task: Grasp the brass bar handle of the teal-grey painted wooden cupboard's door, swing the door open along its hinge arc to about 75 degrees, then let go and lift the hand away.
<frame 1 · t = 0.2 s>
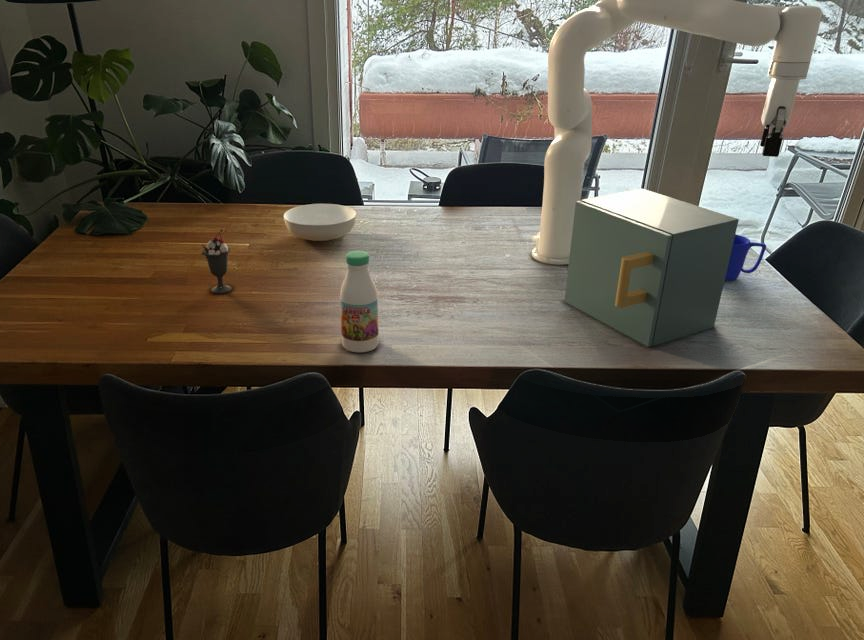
hand: (768, 151, 162), 31 cm above the table, tool pointing down, fingers open, 9 cm apart
milk bottle: (360, 345, 150), on the table
cabinet door: (599, 274, 150), point 12 cm above the table, hinge at 0.0°
cabinet: (638, 313, 161), on the table
serving bowl: (321, 237, 210), on the table
sundae: (221, 290, 177), on the table
mug: (731, 278, 178), on the table
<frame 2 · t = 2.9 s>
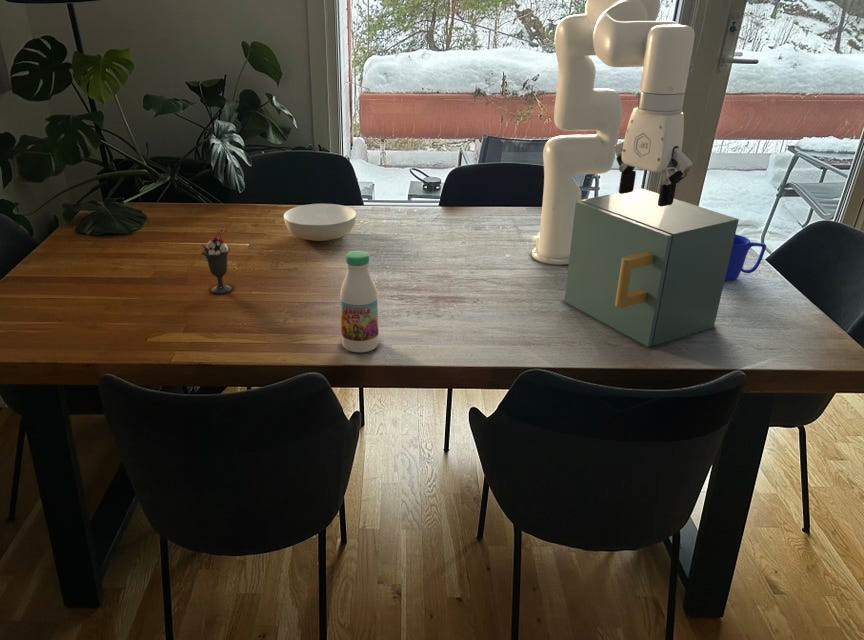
hand: (644, 198, 134), 30 cm above the table, tool pointing down, fingers open, 9 cm apart
nothing on the table moved.
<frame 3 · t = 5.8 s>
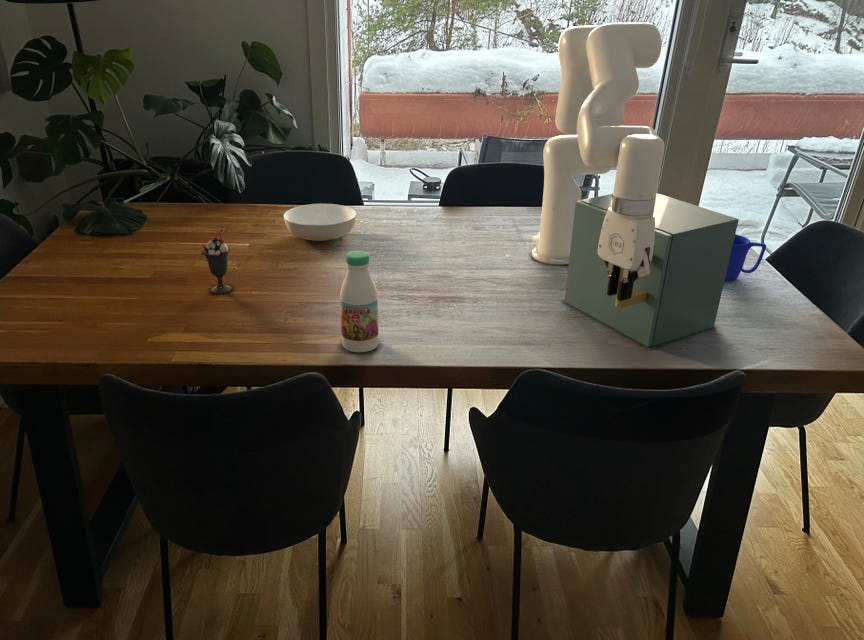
hand: (618, 296, 141), 12 cm above the table, tool pointing down, fingers closed on cabinet door, 2 cm apart
cabinet door: (599, 274, 150), point 12 cm above the table, hinge at 0.0°, touching gripper
everything else where it was.
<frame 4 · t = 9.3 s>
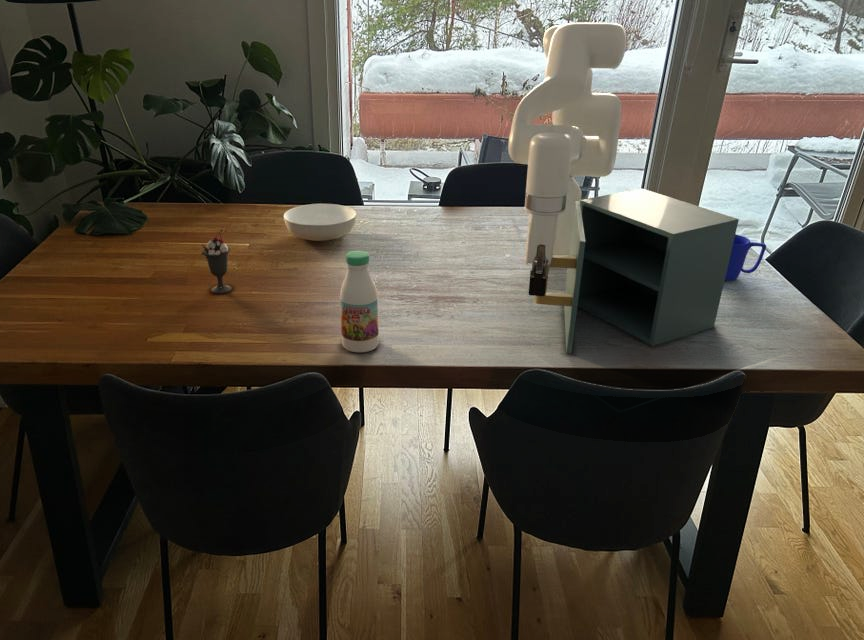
hand: (536, 291, 144), 12 cm above the table, tool pointing down, fingers closed on cabinet door, 2 cm apart
cabinet door: (556, 273, 151), point 12 cm above the table, hinge at 38.9°, touching gripper
everything else where it was.
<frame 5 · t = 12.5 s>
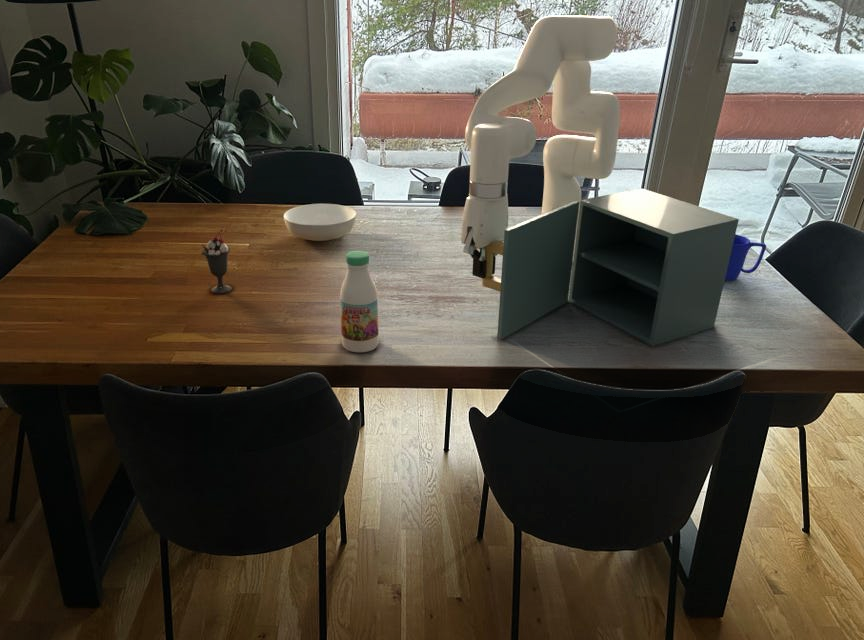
hand: (483, 274, 152), 12 cm above the table, tool pointing down, fingers closed, pressing on cabinet door
cabinet door: (525, 264, 155), point 12 cm above the table, hinge at 72.0°, touching gripper
everything else where it was.
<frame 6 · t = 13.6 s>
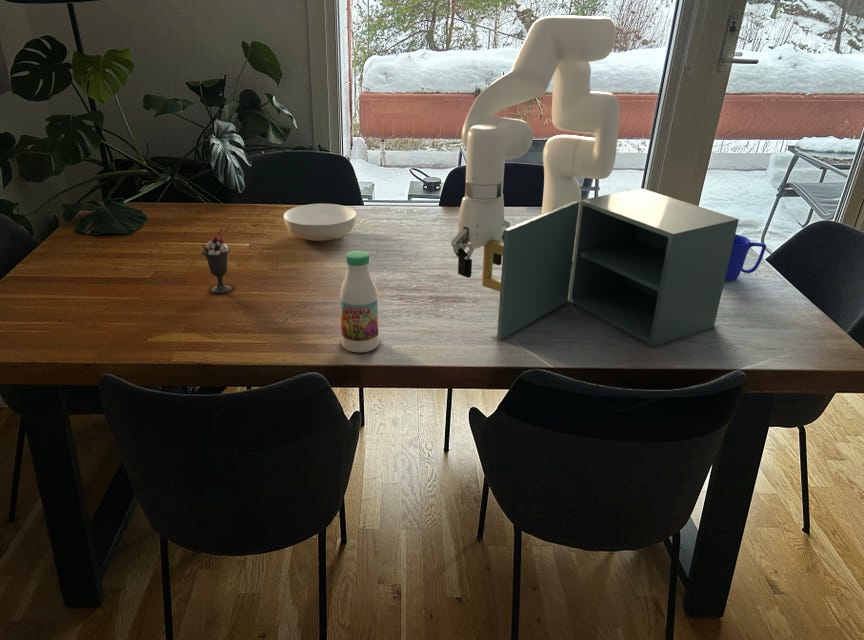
hand: (479, 269, 152), 13 cm above the table, tool pointing down, fingers open, 9 cm apart
cabinet door: (525, 264, 155), point 12 cm above the table, hinge at 72.0°
everything else where it was.
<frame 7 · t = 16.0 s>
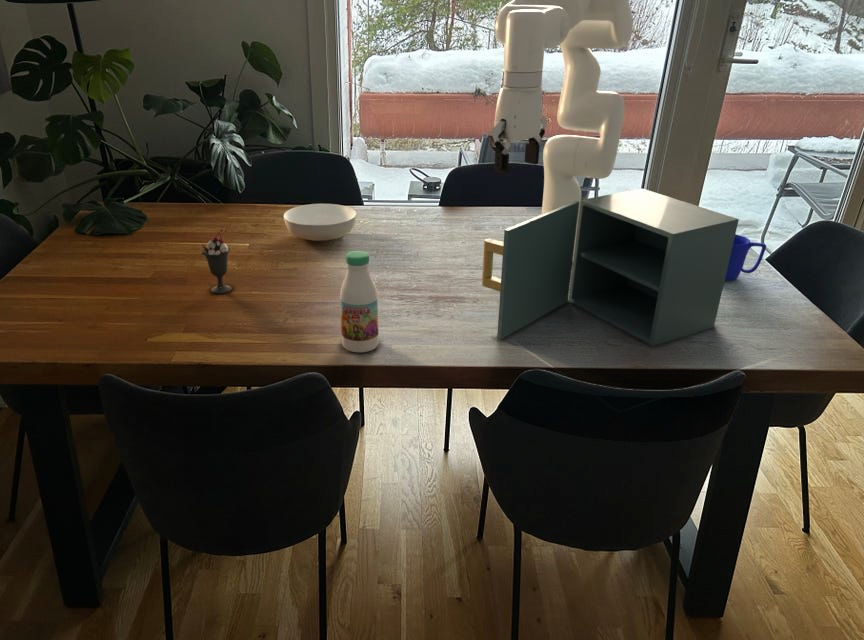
hand: (516, 167, 149), 32 cm above the table, tool pointing down, fingers open, 9 cm apart
nothing on the table moved.
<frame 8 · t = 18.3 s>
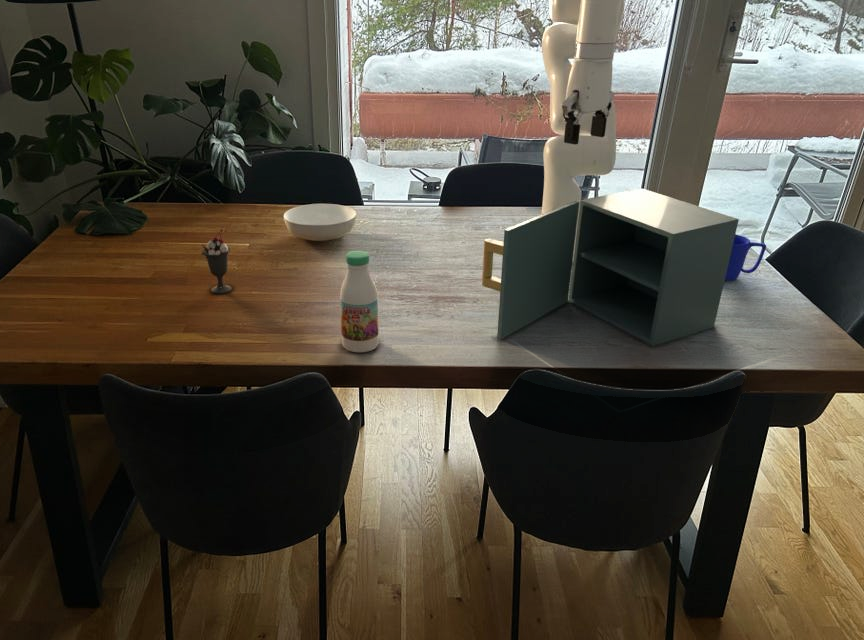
hand: (584, 139, 152), 36 cm above the table, tool pointing down, fingers open, 9 cm apart
nothing on the table moved.
at the end: cabinet door at +72° (first picture: +0°); the gripper is holding nothing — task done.
